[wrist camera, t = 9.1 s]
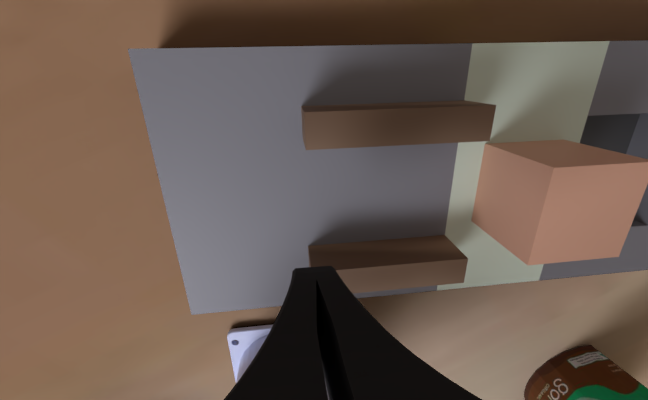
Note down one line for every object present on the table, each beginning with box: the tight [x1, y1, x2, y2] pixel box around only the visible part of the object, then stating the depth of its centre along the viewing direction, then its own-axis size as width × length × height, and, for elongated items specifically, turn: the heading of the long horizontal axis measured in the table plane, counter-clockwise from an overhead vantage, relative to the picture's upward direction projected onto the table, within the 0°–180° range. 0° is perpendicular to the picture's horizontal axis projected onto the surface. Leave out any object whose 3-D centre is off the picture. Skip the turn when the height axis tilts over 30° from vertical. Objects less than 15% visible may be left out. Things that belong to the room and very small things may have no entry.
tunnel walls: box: [301, 100, 496, 294], centre depth 15 cm, size 9×8×2 cm
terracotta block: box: [471, 140, 648, 265], centre depth 15 cm, size 4×4×4 cm
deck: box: [128, 40, 648, 315], centre depth 18 cm, size 14×30×3 cm, turn 91°
